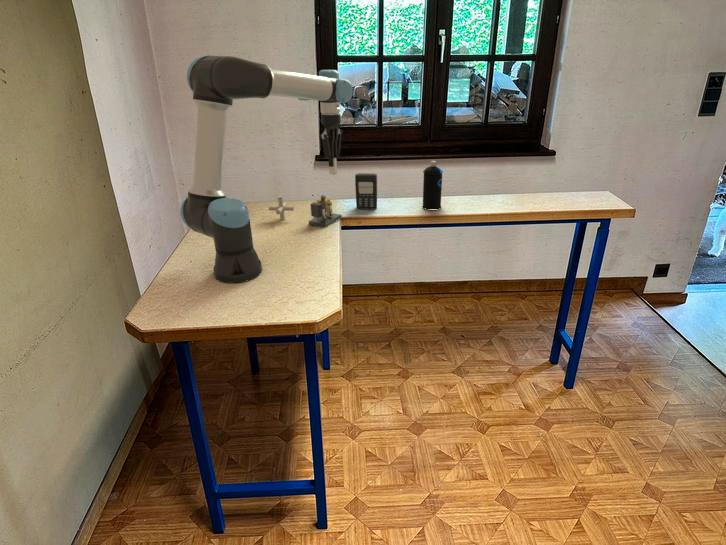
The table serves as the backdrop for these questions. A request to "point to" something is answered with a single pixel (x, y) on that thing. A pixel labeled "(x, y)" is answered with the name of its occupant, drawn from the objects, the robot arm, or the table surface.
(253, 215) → the table surface
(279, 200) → the pipe connector
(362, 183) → the card reader
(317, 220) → the bolt plate
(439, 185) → the aerosol can
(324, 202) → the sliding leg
